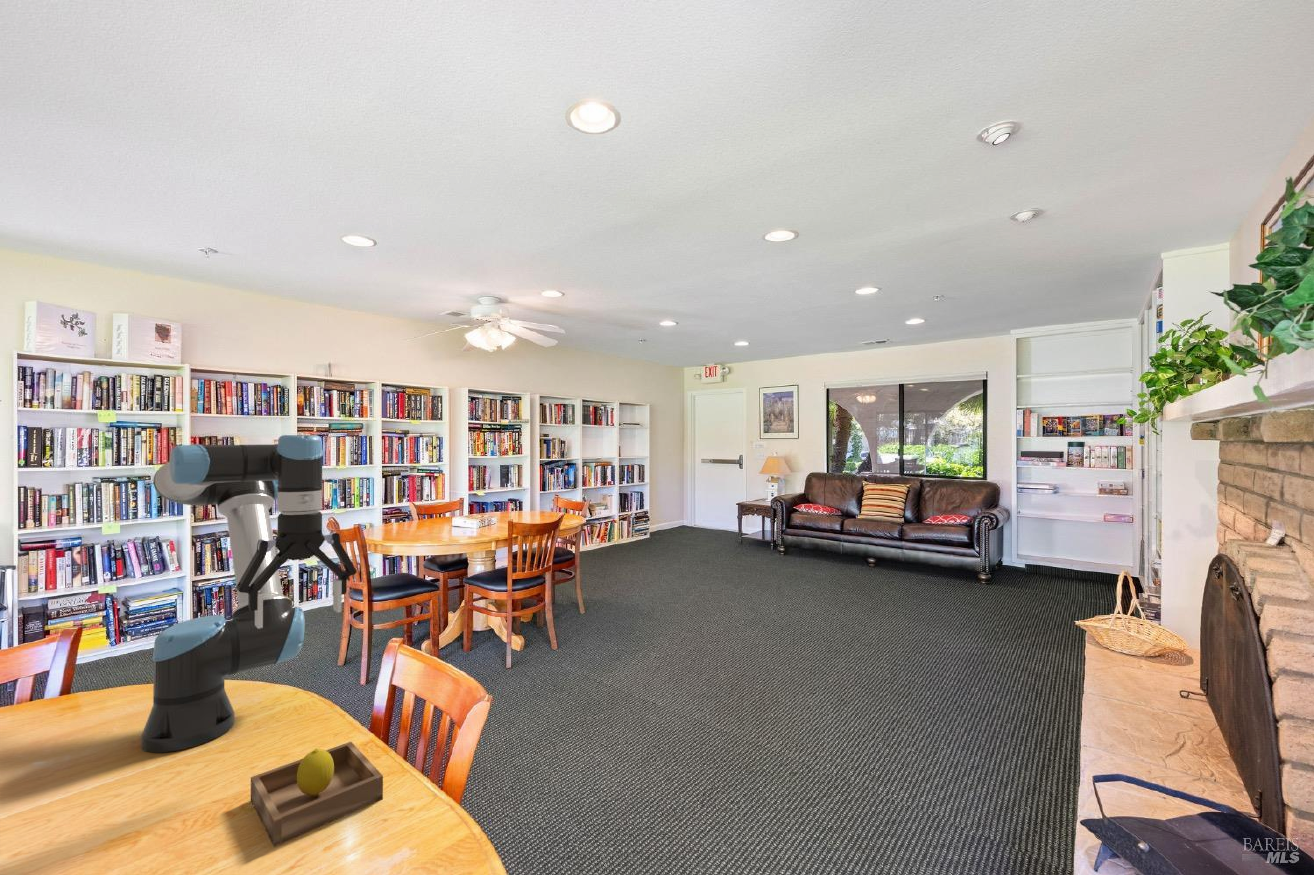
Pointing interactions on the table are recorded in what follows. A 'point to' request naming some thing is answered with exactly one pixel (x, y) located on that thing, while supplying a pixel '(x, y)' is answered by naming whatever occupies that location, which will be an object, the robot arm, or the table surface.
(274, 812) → the walnut bin
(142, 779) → the table surface
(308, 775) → the lemon
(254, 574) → the robot arm
